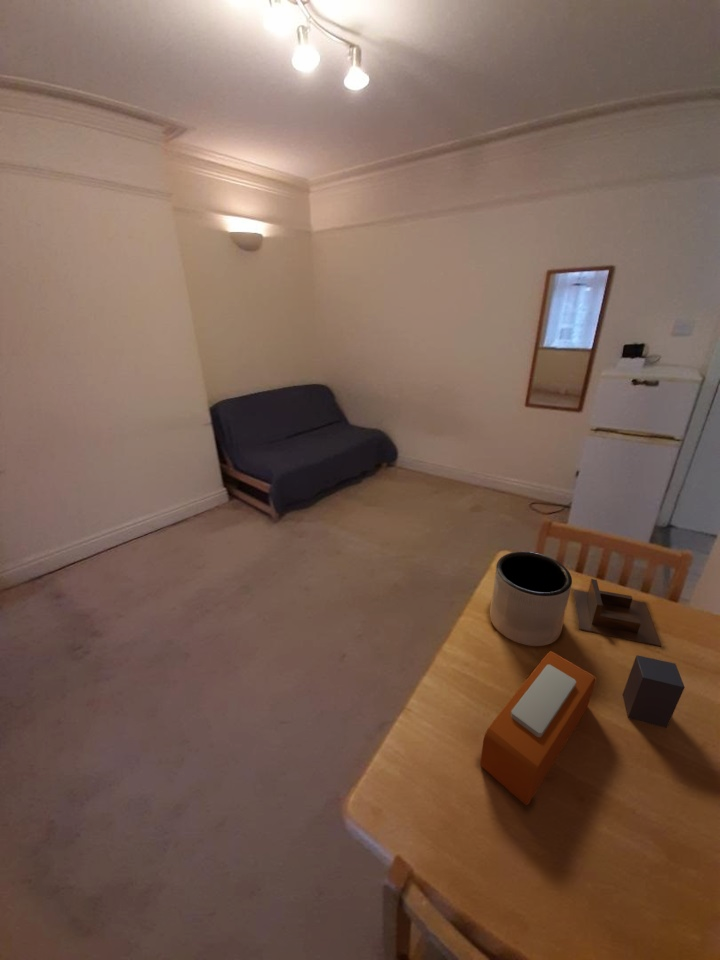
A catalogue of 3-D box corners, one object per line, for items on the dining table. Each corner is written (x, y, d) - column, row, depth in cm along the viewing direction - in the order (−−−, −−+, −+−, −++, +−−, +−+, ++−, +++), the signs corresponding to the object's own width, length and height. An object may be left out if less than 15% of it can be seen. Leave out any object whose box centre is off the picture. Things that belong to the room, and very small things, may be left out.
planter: (477, 626, 97) (483, 574, 90) (506, 591, 107) (513, 542, 100) (546, 662, 87) (558, 607, 80) (570, 619, 97) (582, 568, 90)
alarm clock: (544, 682, 82) (553, 642, 78) (587, 710, 77) (599, 668, 72) (478, 769, 68) (484, 727, 63) (525, 811, 62) (535, 768, 58)
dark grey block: (657, 707, 77) (675, 663, 71) (664, 732, 72) (685, 687, 67) (620, 698, 79) (636, 654, 73) (626, 722, 74) (643, 677, 69)
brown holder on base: (643, 607, 100) (651, 583, 97) (659, 650, 88) (669, 625, 85) (572, 594, 105) (577, 570, 102) (578, 633, 93) (584, 608, 90)
